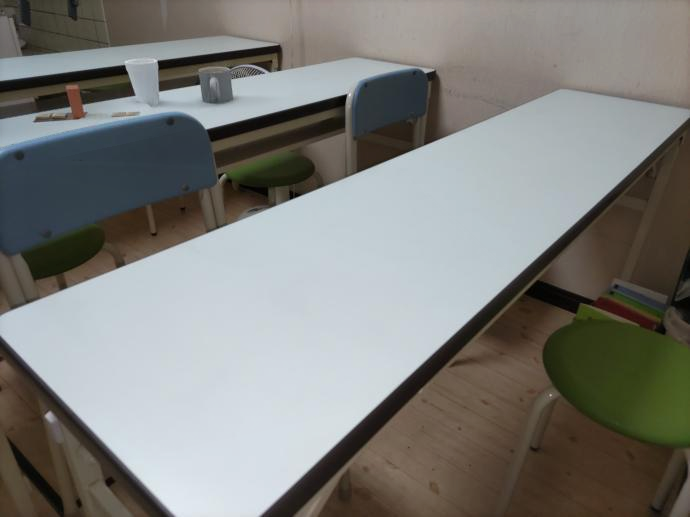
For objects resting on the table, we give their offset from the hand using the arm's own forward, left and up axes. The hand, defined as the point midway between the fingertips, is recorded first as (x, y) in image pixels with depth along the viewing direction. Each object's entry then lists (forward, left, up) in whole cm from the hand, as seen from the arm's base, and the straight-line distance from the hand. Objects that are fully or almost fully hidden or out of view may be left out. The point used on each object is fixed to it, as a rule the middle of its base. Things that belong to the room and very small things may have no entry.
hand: (49, 21), depth 135 cm
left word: (-2, -3, -25) cm, 26 cm away
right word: (+13, -5, -25) cm, 29 cm away
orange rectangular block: (+2, -3, -24) cm, 25 cm away
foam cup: (+21, +11, -25) cm, 35 cm away
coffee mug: (+42, +10, -25) cm, 50 cm away
